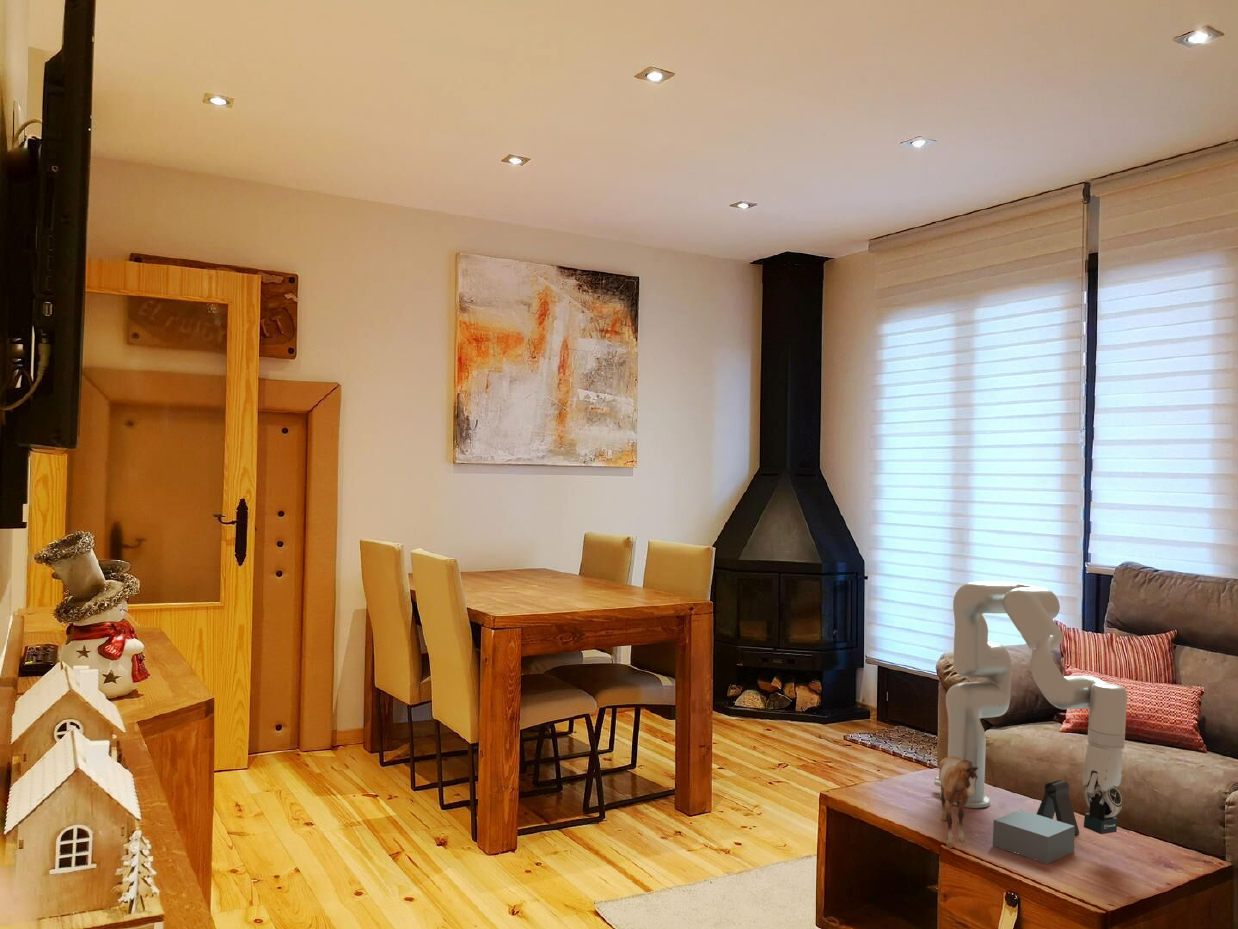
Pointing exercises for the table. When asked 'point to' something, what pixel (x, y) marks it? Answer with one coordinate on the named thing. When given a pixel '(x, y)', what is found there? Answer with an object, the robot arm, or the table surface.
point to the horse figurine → (956, 790)
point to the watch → (1110, 822)
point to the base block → (1033, 836)
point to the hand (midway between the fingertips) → (1101, 817)
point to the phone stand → (1058, 804)
